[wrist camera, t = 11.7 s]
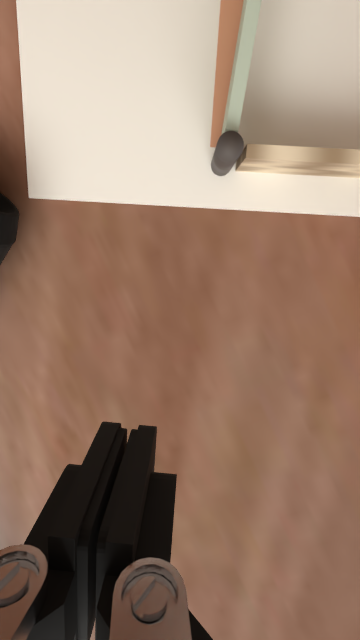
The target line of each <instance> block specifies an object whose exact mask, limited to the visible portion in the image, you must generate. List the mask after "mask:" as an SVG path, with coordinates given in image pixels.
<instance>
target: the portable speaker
mask: <svg viewBox="0 0 360 640" xmlns="http://www.w3.org/2000/svg"><path fill="white" fill-rule="evenodd" d="M18 219H19V211H18V210H17V208H16V207H15V205H14V204H13V203H12V202H11V201H10V200H9V199H7V198H6V197H5V196H4V195H2V194H1V193H0V264H1V263H2V261H3V259H4V258H5V256H6V254H7V253H8V251H9V249H10V248H11V246H12V244H13V243H14V242H15V241H16V234H17V227H18Z"/></svg>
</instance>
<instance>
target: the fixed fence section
mask: <svg viewBox="0 0 360 640" xmlns="http://www.w3.org/2000/svg"><path fill="white" fill-rule="evenodd" d="M235 163H236V169H235V171H238V172H256V173H275V174H293V175H311V176H330V177H348V178H360V150H357V149H338V148H319V147H300V146H281V145H263V144H247V145H246V146H245V148H244V141H243V138H242V137H241V135H240V134H239V133H237V132H235V131H227V132H225V133H223V134H222V135H221V136H220V137H219V139H218V141H217V145H216V148H215V151H214V155H213V158H212V161H211V169H212V171H213V173H214V174H216V175H217V176H224V175H226V174H228V173H229V171H230V170H231V169H232V167H233V166H234V164H235Z"/></svg>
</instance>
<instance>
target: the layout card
mask: <svg viewBox="0 0 360 640" xmlns="http://www.w3.org/2000/svg"><path fill="white" fill-rule="evenodd" d="M243 1H244V0H16V4H17V20H18V36H19V52H20V68H21V84H22V99H23V115H24V131H25V147H26V163H27V179H28V195H29V198H35V199H53V200H71V201H89V202H106V203H124V204H142V205H159V206H177V207H195V208H212V209H230V210H248V211H265V212H283V213H301V214H319V215H336V216H354V217H360V178H348V177H330V176H311V175H293V174H275V173H256V172H238V171H235V169H236V163H235V164H234V166H233V167H232V169H231V170H230V171H229V173H228V174H226V175H224V176H217V175H216V174H214V173H213V171H212V169H211V161H212V158H213V155H214V151H215V148H216V145H217V141H218V139H219V137H220V136H221V133H222V127H223V121H224V115H225V109H226V103H227V97H228V91H229V85H230V79H231V73H232V67H233V61H234V55H235V49H236V43H237V37H238V31H239V25H240V19H241V13H242V7H243ZM238 133H239V134H240V135H241V137H242V138H243V141H244V148H245V146H246V145H247V144H263V145H281V146H300V147H319V148H338V149H357V150H360V0H262V1H261V7H260V12H259V18H258V24H257V29H256V35H255V40H254V46H253V52H252V57H251V63H250V69H249V74H248V80H247V85H246V91H245V97H244V102H243V108H242V113H241V119H240V125H239V130H238Z"/></svg>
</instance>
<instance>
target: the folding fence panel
mask: <svg viewBox="0 0 360 640" xmlns="http://www.w3.org/2000/svg"><path fill="white" fill-rule="evenodd" d="M261 1H262V0H244V1H243V7H242V13H241V19H240V25H239V31H238V37H237V43H236V49H235V55H234V61H233V67H232V73H231V79H230V85H229V91H228V97H227V103H226V109H225V115H224V121H223V127H222V133H221V135H222V134H223V133H225V132H227V131H235V132H237V133H238V130H239V125H240V119H241V113H242V108H243V102H244V97H245V91H246V85H247V80H248V74H249V69H250V63H251V57H252V52H253V46H254V40H255V35H256V29H257V24H258V18H259V12H260V7H261Z"/></svg>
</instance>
